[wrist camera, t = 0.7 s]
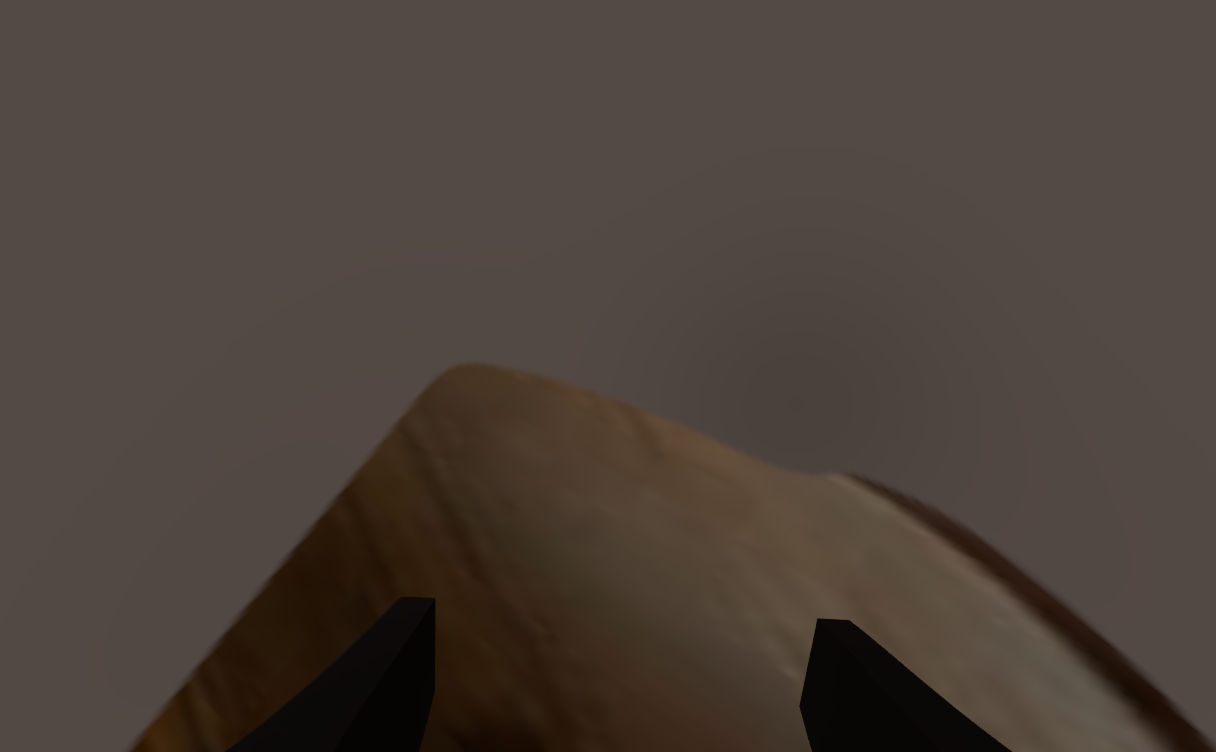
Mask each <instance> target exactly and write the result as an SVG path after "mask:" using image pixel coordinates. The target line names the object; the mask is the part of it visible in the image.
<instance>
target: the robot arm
mask: <svg viewBox="0 0 1216 752" xmlns="http://www.w3.org/2000/svg"><path fill="white" fill-rule="evenodd" d="M434 692H435V598H419V597H401V598H400V599H399V600H397V601H396V602H395V603H394V604H393V605H392V606H391V607H390V608H389V609H388V610H387V611H386V612H385V613H384V614H383V615H382V616H381V617H380V618H379V619H378V620H377V621H376V622H375V623H374V624H373V625H372V626H371V627H370V628H369V629H368V630H367V631H366V632H365V633H364V634H363V635H362V636H361V637H360V638H358V639H357V640H356V641H355V642H354V643H353V644H352V645H351V646H350V647H349V648H348V649H347V650H346V651H345V652H344V653H343V654H342V655H341V656H339V657H338V658H337V659H336V660H335V661H334V662H333V663H332V664H331V665H330V666H329V667H328V668H326V669H325V670H324V671H323V672H322V673H321V674H320V675H319V676H318V677H317V678H315V679H314V680H313V681H312V682H311V683H310V684H309V685H308V686H306V687H305V688H304V689H303V690H302V691H300V692H299V693H298V694H297V695H296V696H294V697H293V698H292V699H291V700H290V701H289V702H287V703H286V704H285V705H284V706H283V707H281V708H280V709H279V710H278V711H277V712H276V713H274V714H273V715H272V716H271V717H270V718H268V719H267V720H266V721H265V722H263V723H262V724H261V725H260V726H258V727H257V728H256V729H254V730H253V731H252V732H251V733H249V734H248V735H247V736H245V737H244V738H243V739H242V740H240V741H239V742H238V743H236V744H235V745H234V746H232V747H231V748H230V749H228V750H227V751H225V752H419V750H420V746H421V743H422V739H423V735H424V731H425V727H426V724H427V720H428V716H429V712H430V708H431V704H432V700H433V696H434ZM799 707H800V710H801V714H802V717H803V721H804V725H805V728H806V732H807V736H808V739H809V742H810V746H811V749H812V752H1012V751H1010V750H1009V749H1008V748H1006V747H1005V746H1004V745H1002V744H1001V743H1000V742H998V741H997V740H996V739H995V738H993V737H992V736H991V735H989V734H988V733H987V732H985V731H984V730H983V729H981V728H980V727H979V726H977V725H976V724H975V723H974V722H972V721H971V720H970V719H969V718H967V717H966V716H965V715H963V714H962V713H961V712H960V711H958V710H957V709H956V708H955V707H953V706H952V705H951V704H950V703H949V702H947V701H946V700H945V699H944V698H942V697H941V696H940V695H939V694H938V693H936V692H935V691H934V690H933V689H932V688H930V687H929V686H928V685H927V684H925V683H924V682H923V681H922V680H921V679H920V678H918V677H917V676H916V675H915V674H914V673H912V672H911V671H910V670H909V669H908V668H906V667H905V666H904V665H903V664H902V663H901V662H899V661H898V660H897V659H896V658H895V657H894V656H892V655H891V654H890V653H889V652H888V651H886V650H885V649H884V648H883V647H882V646H881V645H879V644H878V643H877V642H876V641H875V640H873V639H872V638H871V637H870V636H869V635H867V634H866V633H865V632H864V631H862V630H861V629H860V628H859V627H857V626H856V625H855V624H853V623H852V622H851V621H849V620H837V619H817V623H816V628H815V633H814V638H813V643H812V648H811V653H810V657H809V662H808V667H807V672H806V677H805V682H804V686H803V691H802V696H801V701H800V706H799Z"/></svg>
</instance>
